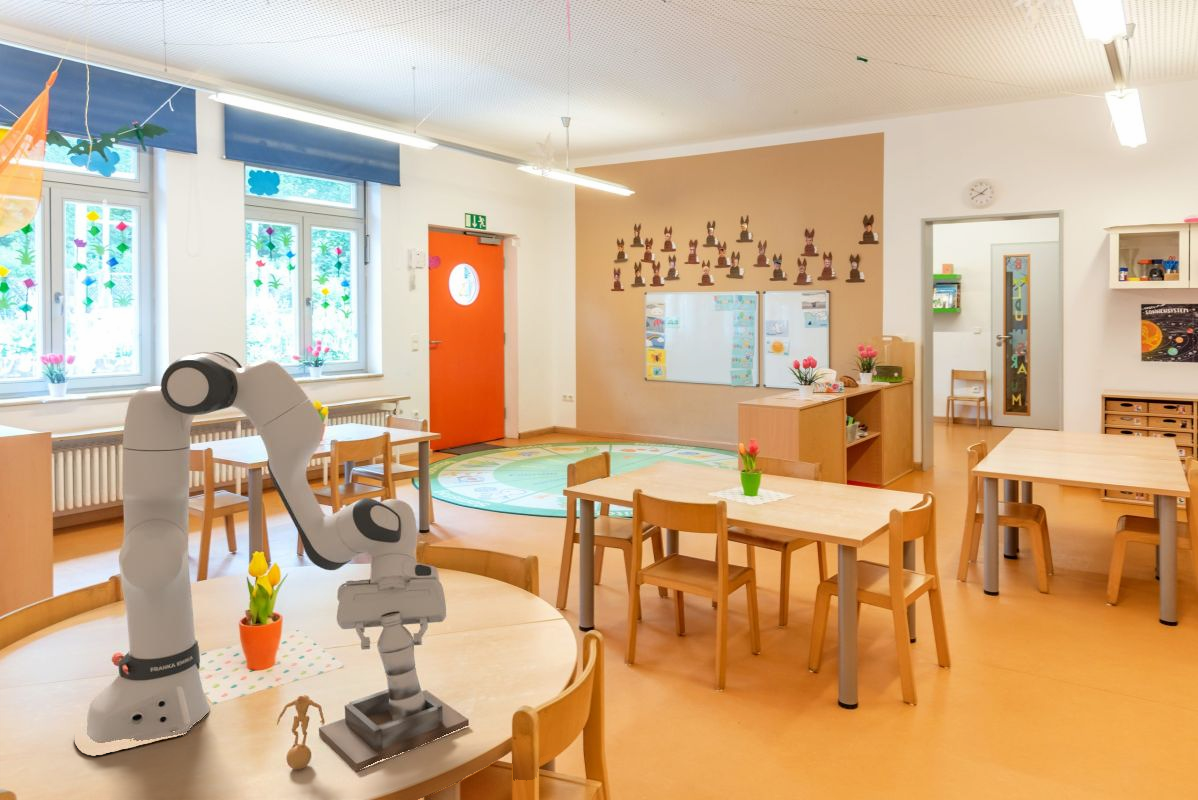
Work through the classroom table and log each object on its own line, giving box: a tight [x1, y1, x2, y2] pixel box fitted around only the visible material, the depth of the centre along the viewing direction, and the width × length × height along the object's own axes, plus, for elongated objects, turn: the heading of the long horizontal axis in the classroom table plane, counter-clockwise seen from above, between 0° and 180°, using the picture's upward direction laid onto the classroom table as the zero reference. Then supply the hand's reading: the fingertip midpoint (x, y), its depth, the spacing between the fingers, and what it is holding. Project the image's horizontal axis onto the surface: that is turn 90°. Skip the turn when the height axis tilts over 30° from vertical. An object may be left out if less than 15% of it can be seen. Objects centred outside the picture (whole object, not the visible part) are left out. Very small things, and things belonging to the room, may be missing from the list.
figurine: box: [276, 694, 325, 770], centre depth 142 cm, size 8×6×12 cm
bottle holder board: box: [318, 688, 470, 772], centre depth 153 cm, size 22×16×5 cm
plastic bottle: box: [376, 611, 426, 721], centre depth 153 cm, size 6×7×20 cm
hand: (391, 646), depth 154 cm, fingers open, 8 cm apart
